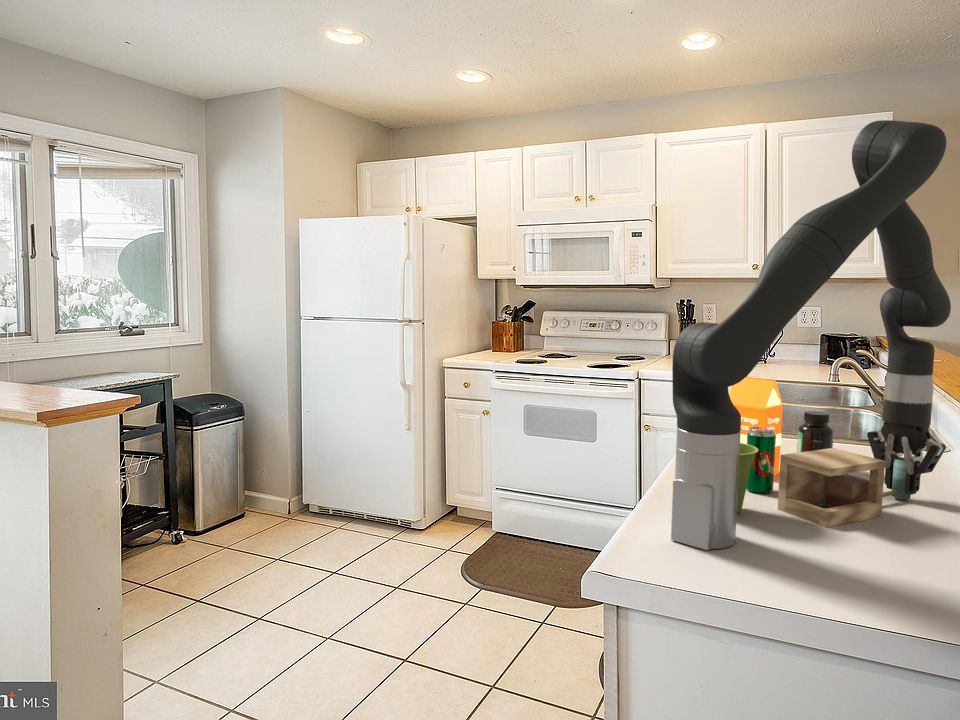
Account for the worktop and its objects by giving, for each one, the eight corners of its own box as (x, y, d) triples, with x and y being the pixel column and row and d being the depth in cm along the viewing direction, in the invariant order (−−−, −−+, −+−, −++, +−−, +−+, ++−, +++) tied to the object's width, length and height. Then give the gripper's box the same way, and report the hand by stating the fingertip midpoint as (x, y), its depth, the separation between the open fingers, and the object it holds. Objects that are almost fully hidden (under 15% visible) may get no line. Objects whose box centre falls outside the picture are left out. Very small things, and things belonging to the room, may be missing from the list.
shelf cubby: (827, 527, 112) (830, 468, 111) (777, 509, 121) (780, 454, 120) (881, 516, 117) (885, 460, 116) (829, 499, 126) (833, 447, 125)
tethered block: (851, 513, 118) (853, 473, 117) (825, 504, 122) (828, 466, 121) (919, 499, 125) (922, 461, 124) (893, 491, 130) (895, 455, 129)
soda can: (749, 485, 135) (752, 425, 134) (776, 490, 132) (779, 428, 131) (740, 491, 131) (743, 429, 130) (768, 496, 128) (771, 432, 127)
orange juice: (761, 479, 139) (766, 381, 137) (721, 470, 146) (725, 377, 144) (779, 473, 144) (784, 378, 142) (740, 464, 151) (744, 373, 149)
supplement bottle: (793, 469, 147) (797, 413, 146) (798, 462, 153) (801, 409, 152) (829, 473, 144) (833, 417, 142) (832, 466, 150) (836, 412, 148)
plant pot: (767, 509, 121) (770, 446, 119) (735, 526, 112) (739, 458, 111) (704, 494, 129) (706, 435, 128) (670, 509, 121) (673, 445, 119)
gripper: (961, 402, 120) (953, 499, 122) (884, 391, 133) (879, 478, 134) (933, 405, 117) (926, 505, 119) (858, 393, 129) (852, 483, 131)
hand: (901, 490), depth 127 cm, fingers closed on tethered block, 3 cm apart
